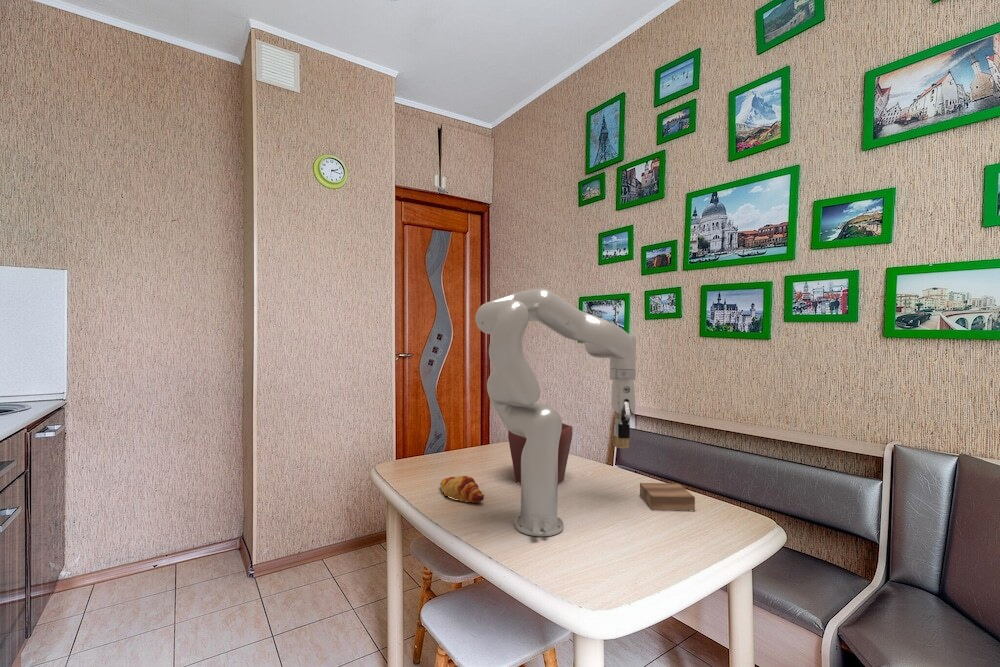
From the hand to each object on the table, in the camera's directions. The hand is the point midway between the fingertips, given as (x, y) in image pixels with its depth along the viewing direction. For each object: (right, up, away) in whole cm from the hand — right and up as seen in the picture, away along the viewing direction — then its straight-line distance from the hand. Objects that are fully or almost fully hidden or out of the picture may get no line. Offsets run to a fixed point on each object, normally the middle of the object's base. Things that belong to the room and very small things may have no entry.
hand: (621, 435), depth 133 cm
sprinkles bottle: (0, -4, 0) cm, 4 cm away
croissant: (-48, -20, +5) cm, 52 cm away
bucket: (-22, -20, +21) cm, 37 cm away
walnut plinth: (+13, -20, 0) cm, 24 cm away
